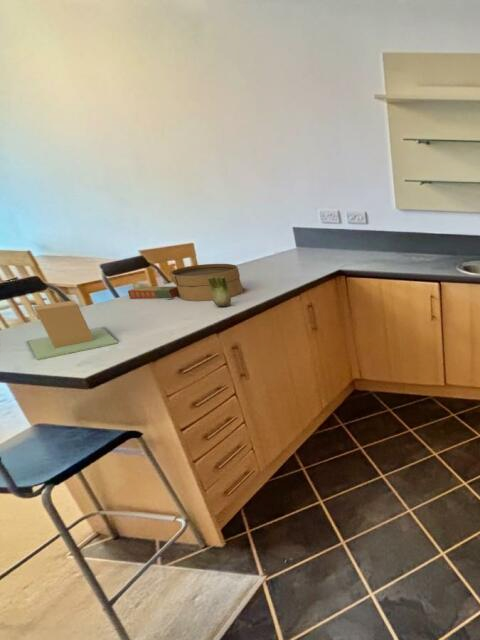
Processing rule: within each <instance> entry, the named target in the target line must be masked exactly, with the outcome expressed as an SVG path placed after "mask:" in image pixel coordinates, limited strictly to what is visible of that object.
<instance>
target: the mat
mask: <svg viewBox="0 0 480 640" xmlns="http://www.w3.org/2000/svg"><path fill="white" fill-rule="evenodd" d="M90 332H91V334H92V337H93V339H94V340H93V341H88V342H83V343H78V344H73V345H68V346H62V347H57V348H55V347H54V345H53V344H52V342H51V340H50V338H49V337H47V338H41V339H36V340H32V341H31V340H30V341H28V344H29V345H30V348H31V350H32V352H33V354H34V356H35V358H36V360H37V361H41V360H45V359H50V358H54V357H55V358H56V357H59V356H64V355H68V354H75V353H78V352H83V351H84V352H85V351H89V350H93V349H99V348H104V347H107V346H108V347H109V346H113V345H118V344H119V342H118V341H117V340H116V339H115V337H113V336H112V335H111V334H110V333H109V332H108V331H107V330H106V329H105V328H96V329H92V330H90Z"/></svg>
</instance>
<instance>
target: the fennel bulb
mask: <svg viewBox="0 0 480 640" xmlns="http://www.w3.org/2000/svg"><path fill="white" fill-rule="evenodd" d="M221 279H222V283H221V280H220V277H217V278H216V280H217V282H216V280H215V277H212V278H208V281H209V283H210V286H211V290H212V297H213V300H212V301H213V303H214V305H215V306H217V307H229V306H230V305H231V303H232V299H231V298H232V297H230V293H229V290H228V287H227V284H226V280H225V278H221ZM212 280H213V281H212ZM217 283H218V285H217ZM222 284H223V286H222ZM218 286H219V287H218Z"/></svg>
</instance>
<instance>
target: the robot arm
mask: <svg viewBox="0 0 480 640" xmlns="http://www.w3.org/2000/svg"><path fill="white" fill-rule="evenodd" d="M18 279H19V277H18V276H15V277H13V278H10V279H7V280H5V281H9V282H11V281H10V280H12V281H14V280H18Z"/></svg>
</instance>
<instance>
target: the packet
mask: <svg viewBox="0 0 480 640" xmlns="http://www.w3.org/2000/svg"><path fill="white" fill-rule="evenodd" d="M32 307H33V309H34V311H35V313H36V315H37V317H38V319H39V321H40V323H41V324H42V326H43V328H44V331H45V333H46V335H47V336H48V338H50V340H51V342H52V344H53V345H54V347H55V348H57V347H62V346H68V345H73V344H78V343H83V342H88V341H93V340H94V339H93V337H92V334H91V332H90V331H91V330H90V328H89V326H88V324H87V322H86V319H85V317H84V315H83V312H82V311H81V308H80V306H79V304H78V303H77V302H76V301H75V300H74V299H73V300H67V301H60V302H59V301H58V302H52V303H44V304H38V305H33V306H32Z"/></svg>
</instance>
